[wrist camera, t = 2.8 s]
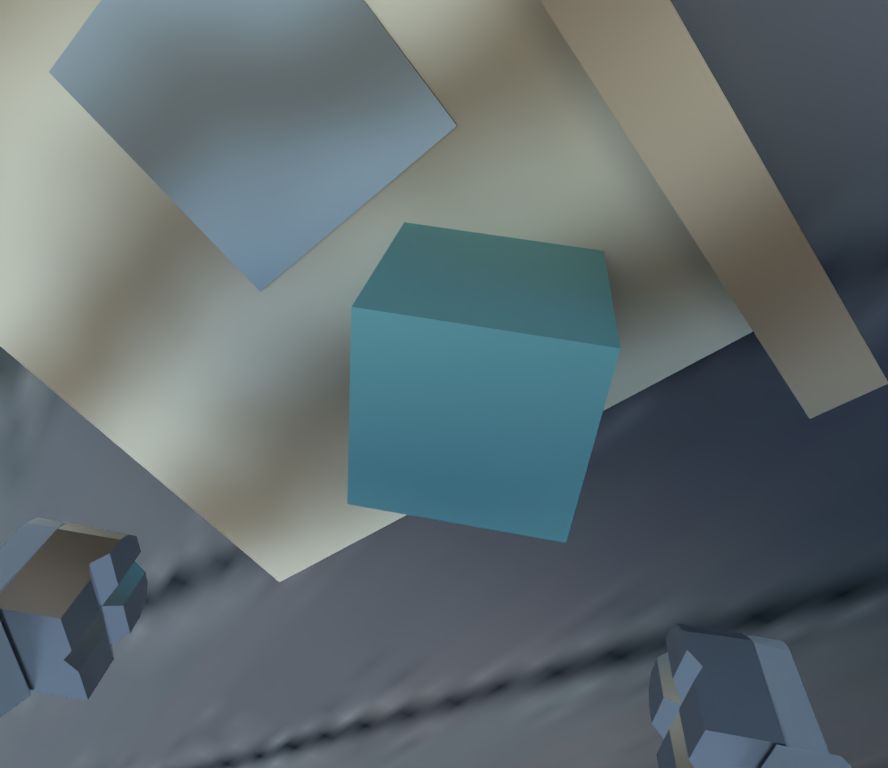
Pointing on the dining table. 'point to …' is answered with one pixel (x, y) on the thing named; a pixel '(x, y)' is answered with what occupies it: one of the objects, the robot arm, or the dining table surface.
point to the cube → (479, 379)
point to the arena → (362, 218)
